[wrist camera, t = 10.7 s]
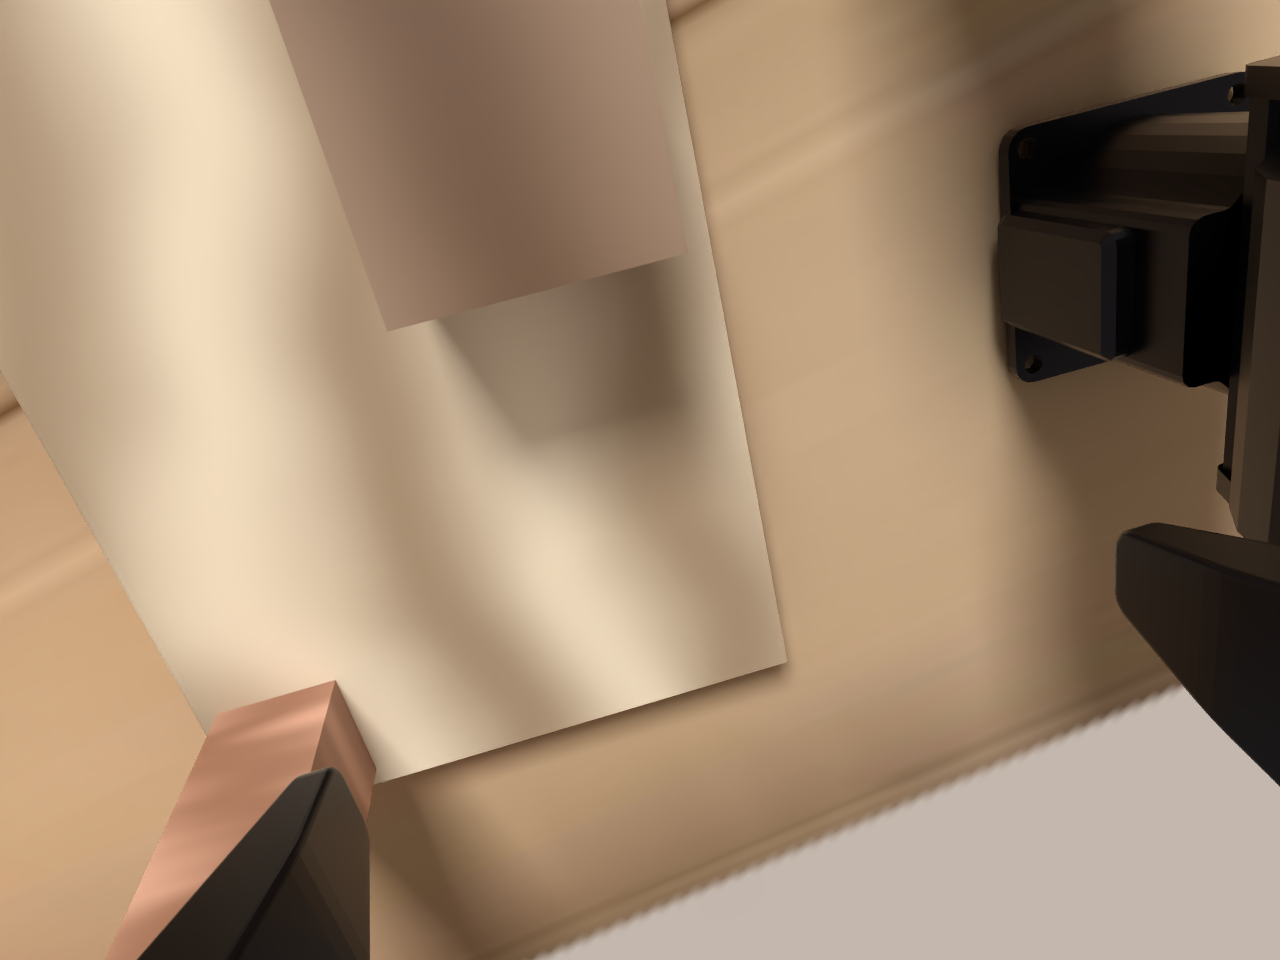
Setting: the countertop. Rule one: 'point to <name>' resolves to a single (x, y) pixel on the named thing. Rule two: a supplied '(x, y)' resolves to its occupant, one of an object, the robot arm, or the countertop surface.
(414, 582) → the board with upright post
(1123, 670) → the countertop surface
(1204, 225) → the robot arm
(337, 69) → the walnut cube
